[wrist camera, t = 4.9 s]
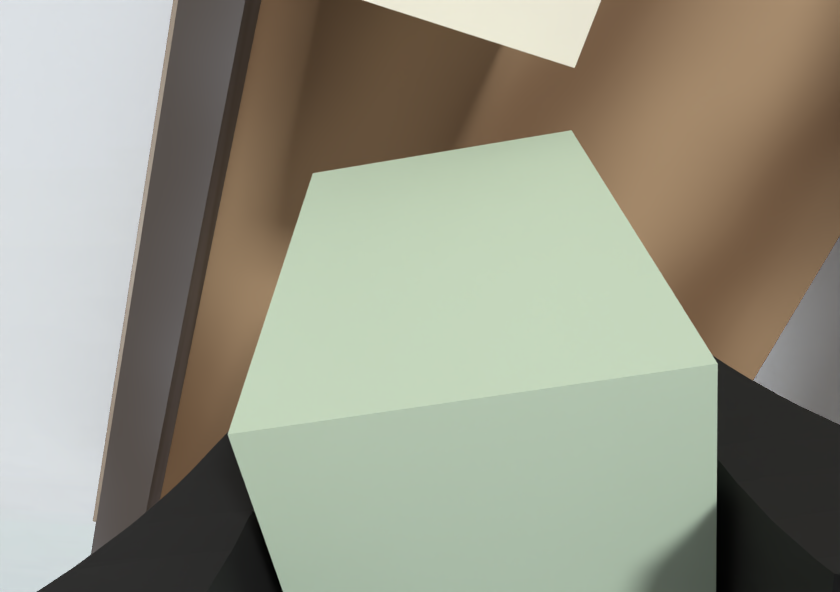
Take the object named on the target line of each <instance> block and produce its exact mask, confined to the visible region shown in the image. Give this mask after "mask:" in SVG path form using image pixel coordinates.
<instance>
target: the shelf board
mask: <svg viewBox="0 0 840 592" xmlns="http://www.w3.org/2000/svg"><path fill="white" fill-rule="evenodd" d="M570 130H572V132H573V133H574V135H575V137H576V138H577V140H578V141H579V143H580V145H581V146H582V148H583V149H584V151H585V153H586V154H587V156H588V157H589V159H590V161H591V162H592V164H593V165H594V167H595V169H596V170H597V172H598V173H599V175H600V177H601V178H602V180H603V181H604V183H605V185H606V186H607V188H608V189H609V191H610V193H611V194H612V196H613V197H614V199H615V201H616V202H617V204H618V205H619V207H620V209H621V210H622V212H623V213H624V215H625V216H626V218H627V220H628V221H629V223H630V224H631V226H632V228H633V229H634V231H635V232H636V234H637V236H638V237H639V239H640V240H641V242H642V244H643V245H644V247H645V248H646V250H647V252H648V253H649V255H650V256H651V258H652V260H653V261H654V263H655V264H656V266H657V268H658V269H659V271H660V272H661V274H662V276H663V277H664V279H665V280H666V282H667V284H668V285H669V287H670V288H671V290H672V292H673V293H674V295H675V296H676V298H677V300H678V301H679V303H680V304H681V306H682V307H683V309H684V311H685V312H686V314H687V315H688V317H689V319H690V320H691V322H692V323H693V325H694V327H695V328H696V330H697V331H698V333H699V335H700V336H701V338H702V339H703V341H704V343H705V344H706V346H707V347H708V349H709V351H710V352H711V354H712V355H713V356H714V357H716V358H717V359H719V360H720V361H722V362H723V363H725V364H727V365H728V366H730V367H731V368H733V369H735V370H736V371H738V372H739V373H741V374H743V375H744V376H746V377H748V378H749V379H751V380H754V378H755V376H756V375H757V373H758V371H759V370H760V368H761V366H762V365H763V363H764V361H765V360H766V358H767V356H768V355H769V353H770V351H771V350H772V348H773V346H774V345H775V343H776V341H777V340H778V338H779V336H780V335H781V333H782V331H783V330H784V328H785V326H786V325H787V323H788V321H789V320H790V318H791V316H792V315H793V313H794V311H795V310H796V308H797V306H798V305H799V303H800V301H801V300H802V298H803V296H804V295H805V293H806V291H807V290H808V288H809V286H810V285H811V283H812V281H813V280H814V278H815V276H816V275H817V273H818V271H819V270H820V268H821V266H822V265H823V263H824V261H825V260H826V258H827V256H828V255H829V253H830V251H831V250H832V248H833V246H834V245H835V243H836V241H837V240H838V238H839V236H840V0H601V2H600V4H599V7H598V10H597V12H596V15H595V17H594V20H593V22H592V25H591V27H590V30H589V33H588V35H587V38H586V40H585V43H584V45H583V48H582V50H581V53H580V56H579V58H578V61H577V63H576V66H575V68H573V67H570V66H567V65H564V64H560V63H557V62H554V61H551V60H548V59H545V58H542V57H539V56H535V55H532V54H529V53H526V52H523V51H520V50H517V49H514V48H510V47H507V46H504V45H501V44H498V43H495V42H492V41H489V40H485V39H482V38H479V37H476V36H473V35H470V34H467V33H464V32H460V31H457V30H454V29H451V28H448V27H445V26H442V25H439V24H435V23H432V22H429V21H426V20H423V19H420V18H417V17H414V16H410V15H407V14H404V13H401V12H398V11H395V10H392V9H389V8H385V7H382V6H379V5H376V4H373V3H370V2H367V1H364V0H173V6H172V12H171V19H170V25H169V32H168V38H167V45H166V51H165V58H164V64H163V71H162V77H161V84H160V90H159V96H158V103H157V109H156V116H155V122H154V129H153V135H152V142H151V148H150V155H149V161H148V168H147V174H146V181H145V187H144V194H143V200H142V207H141V213H140V219H139V226H138V232H137V239H136V245H135V252H134V258H133V265H132V271H131V278H130V284H129V291H128V297H127V304H126V310H125V317H124V323H123V330H122V336H121V343H120V349H119V355H118V362H117V368H116V375H115V381H114V388H113V394H112V401H111V407H110V414H109V420H108V427H107V433H106V440H105V446H104V453H103V459H102V466H101V472H100V478H99V485H98V491H97V498H96V504H95V511H94V517H93V521H95V522H96V526H95V533H94V539H93V545H92V552H91V554H93V553H94V552H95V551H97V550H98V549H99V548H101V547H102V546H103V545H105V544H106V543H107V542H109V541H110V540H111V539H113V538H114V537H115V536H117V535H118V534H119V533H121V532H122V531H123V530H125V529H126V528H127V527H129V526H130V525H131V524H132V523H134V522H135V521H136V520H137V519H138V518H140V517H141V516H142V515H143V514H144V513H145V512H147V511H148V510H149V509H150V508H151V507H152V506H154V505H155V504H156V503H157V502H158V501H159V500H160V499H162V498H163V497H164V496H165V495H166V494H167V493H168V492H169V491H170V490H172V489H173V488H174V487H175V486H176V485H177V484H178V483H179V482H180V481H181V480H182V479H183V478H184V477H185V476H186V475H187V474H188V473H189V472H190V471H191V470H192V469H193V468H194V467H195V466H196V465H197V464H198V463H199V462H200V461H201V460H202V459H203V458H204V457H205V455H206V454H207V453H208V452H209V451H210V450H211V449H212V448H213V447H214V446H215V445H216V444H217V443H218V442H219V441H220V440H221V439H222V438H223V436H224V435H225V434H226V433H227V432H228V431H229V429H230V426H231V423H232V420H233V416H234V413H235V410H236V407H237V404H238V401H239V398H240V395H241V392H242V389H243V386H244V383H245V380H246V377H247V374H248V370H249V367H250V364H251V361H252V358H253V355H254V352H255V349H256V346H257V343H258V340H259V337H260V334H261V331H262V328H263V324H264V321H265V318H266V315H267V312H268V309H269V306H270V303H271V300H272V297H273V294H274V291H275V288H276V285H277V282H278V278H279V275H280V272H281V269H282V266H283V263H284V260H285V257H286V254H287V251H288V248H289V245H290V242H291V239H292V236H293V232H294V229H295V226H296V223H297V220H298V217H299V214H300V211H301V208H302V205H303V202H304V199H305V196H306V193H307V190H308V186H309V183H310V180H311V177H312V174H313V173H317V172H323V171H329V170H335V169H341V168H347V167H353V166H359V165H365V164H371V163H377V162H383V161H389V160H395V159H402V158H408V157H414V156H420V155H426V154H432V153H438V152H444V151H450V150H456V149H462V148H468V147H474V146H480V145H486V144H492V143H498V142H504V141H510V140H516V139H522V138H528V137H534V136H540V135H546V134H552V133H558V132H564V131H570Z"/></svg>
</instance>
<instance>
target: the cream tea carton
mask: <svg viewBox="0 0 840 592" xmlns="http://www.w3.org/2000/svg"><path fill="white" fill-rule="evenodd" d="M364 1H367V2H370V3H373V4H376V5H379V6H382V7H385V8H389V9H392V10H395V11H398V12H401V13H404V14H407V15H410V16H414V17H417V18H420V19H423V20H426V21H429V22H432V23H435V24H439V25H442V26H445V27H448V28H451V29H454V30H457V31H460V32H464V33H467V34H470V35H473V36H476V37H479V38H482V39H485V40H489V41H492V42H495V43H498V44H501V45H504V46H507V47H510V48H514V49H517V50H520V51H523V52H526V53H529V54H532V55H535V56H539V57H542V58H545V59H548V60H551V61H554V62H557V63H560V64H564V65H567V66H570V67H573V68H575V66H576V63H577V61H578V58H579V56H580V53H581V50H582V48H583V45H584V43H585V40H586V38H587V35H588V33H589V30H590V27H591V25H592V22H593V20H594V17H595V15H596V12H597V10H598V7H599V4H600V2H601V0H364Z"/></svg>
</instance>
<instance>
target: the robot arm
mask: <svg viewBox="0 0 840 592" xmlns="http://www.w3.org/2000/svg"><path fill="white" fill-rule="evenodd" d="M713 357H714V356H713ZM714 359H715V360H716V362H717V363H718V387H717V529H716V592H840V425H839V424H837V423H834V422H832V421H830V420H828V419H826V418H824V417H822V416H819V415H817V414H815V413H813V412H811V411H809V410H807V409H804V408H802V407H800V406H798V405H796V404H794V403H792V402H791V401H789V400H787V399H785V398H783V397H781V396H779V395H777V394H776V393H774V392H772V391H770V390H769V389H767V388H765V387H763V386H762V385H760V384H758V383H756V382H755V381H753V380H751V379H749V378H748V377H746V376H744V375H743V374H741V373H739V372H738V371H736V370H735V369H733V368H731V367H730V366H728V365H727V364H725V363H723V362H722V361H720V360H719V359H717V358H716V357H714ZM228 432H229V431H228ZM228 432H227V433H226V434H225V435H224V436H223V438H222V439H221V440H220V441H219V442H218V443H217V444H216V445H215V446H214V447H213V448H212V449H211V450H210V451H209V452H208V453H207V454H206V455H205V457H204V458H203V459H202V460H201V461H200V462H199V463H198V464H197V465H196V466H195V467H194V468H193V469H192V470H191V471H190V472H189V473H188V474H187V475H186V476H185V477H184V478H183V479H182V480H181V481H180V482H179V483H178V484H177V485H176V486H175V487H174V488H173V489H172V490H170V491H169V492H168V493H167V494H166V495H165V496H164V497H163V498H162V499H160V500H159V501H158V502H157V503H156V504H155V505H154V506H152V507H151V508H150V509H149V510H148V511H147V512H145V513H144V514H143V515H142V516H141V517H140V518H138V519H137V520H136V521H135V522H134V523H132V524H131V525H130V526H129V527H127V528H126V529H125V530H123V531H122V532H121V533H119V534H118V535H117V536H115V537H114V538H113V539H111V540H110V541H109V542H107V543H106V544H105V545H103V546H102V547H101V548H99V549H98V550H97V551H95V552H94V553H93V554H91V555H90V556H89V557H87V558H86V559H85V560H83V561H82V562H81V563H79V564H78V565H76V566H75V567H74V568H72V569H71V570H69V571H68V572H66V573H65V574H63V575H62V576H60V577H59V578H57V579H56V580H54V581H53V582H51V583H50V584H48V585H47V586H45V587H43V588H42V589H40V590H39V591H37V592H283V590H282V588H281V585H280V582H279V579H278V576H277V573H276V571H275V568H274V565H273V562H272V559H271V556H270V553H269V551H268V548H267V545H266V542H265V539H264V536H263V534H262V531H261V528H260V525H259V522H258V519H257V517H256V514H255V511H254V508H253V505H252V502H251V499H250V497H249V494H248V491H247V488H246V485H245V482H244V480H243V477H242V474H241V471H240V468H239V465H238V462H237V460H236V457H235V454H234V451H233V448H232V445H231V443H230V440H229V437H228Z"/></svg>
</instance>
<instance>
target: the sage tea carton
mask: <svg viewBox="0 0 840 592" xmlns="http://www.w3.org/2000/svg"><path fill="white" fill-rule="evenodd" d="M717 387H718V363H717V362H716V360H715V359H714V357H713V355H712V354H711V352H710V351H709V349H708V347H707V346H706V344H705V343H704V341H703V339H702V338H701V336H700V335H699V333H698V331H697V330H696V328H695V327H694V325H693V323H692V322H691V320H690V319H689V317H688V315H687V314H686V312H685V311H684V309H683V307H682V306H681V304H680V303H679V301H678V300H677V298H676V296H675V295H674V293H673V292H672V290H671V288H670V287H669V285H668V284H667V282H666V280H665V279H664V277H663V276H662V274H661V272H660V271H659V269H658V268H657V266H656V264H655V263H654V261H653V260H652V258H651V256H650V255H649V253H648V252H647V250H646V248H645V247H644V245H643V244H642V242H641V240H640V239H639V237H638V236H637V234H636V232H635V231H634V229H633V228H632V226H631V224H630V223H629V221H628V220H627V218H626V216H625V215H624V213H623V212H622V210H621V209H620V207H619V205H618V204H617V202H616V201H615V199H614V197H613V196H612V194H611V193H610V191H609V189H608V188H607V186H606V185H605V183H604V181H603V180H602V178H601V177H600V175H599V173H598V172H597V170H596V169H595V167H594V165H593V164H592V162H591V161H590V159H589V157H588V156H587V154H586V153H585V151H584V149H583V148H582V146H581V145H580V143H579V141H578V140H577V138H576V137H575V135H574V133H573V132H572V130H570V131H564V132H558V133H552V134H546V135H540V136H534V137H528V138H522V139H516V140H510V141H504V142H498V143H492V144H486V145H480V146H474V147H468V148H462V149H456V150H450V151H444V152H438V153H432V154H426V155H420V156H414V157H408V158H402V159H395V160H389V161H383V162H377V163H371V164H365V165H359V166H353V167H347V168H341V169H335V170H329V171H323V172H317V173H313V174H312V177H311V180H310V183H309V186H308V190H307V193H306V196H305V199H304V202H303V205H302V208H301V211H300V214H299V217H298V220H297V223H296V226H295V229H294V232H293V236H292V239H291V242H290V245H289V248H288V251H287V254H286V257H285V260H284V263H283V266H282V269H281V272H280V275H279V278H278V282H277V285H276V288H275V291H274V294H273V297H272V300H271V303H270V306H269V309H268V312H267V315H266V318H265V321H264V324H263V328H262V331H261V334H260V337H259V340H258V343H257V346H256V349H255V352H254V355H253V358H252V361H251V364H250V367H249V370H248V374H247V377H246V380H245V383H244V386H243V389H242V392H241V395H240V398H239V401H238V404H237V407H236V410H235V413H234V416H233V420H232V423H231V426H230V429H229V432H228V437H229V440H230V443H231V445H232V448H233V451H234V454H235V457H236V460H237V462H238V465H239V468H240V471H241V474H242V477H243V480H244V482H245V485H246V488H247V491H248V494H249V497H250V499H251V502H252V505H253V508H254V511H255V514H256V517H257V519H258V522H259V525H260V528H261V531H262V534H263V536H264V539H265V542H266V545H267V548H268V551H269V553H270V556H271V559H272V562H273V565H274V568H275V571H276V573H277V576H278V579H279V582H280V585H281V588H282V590H283V592H716V529H717Z"/></svg>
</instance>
